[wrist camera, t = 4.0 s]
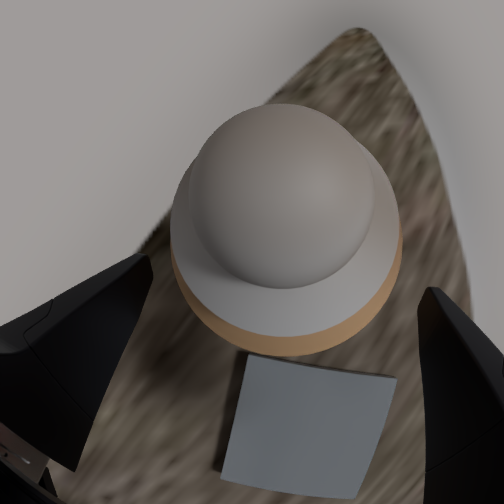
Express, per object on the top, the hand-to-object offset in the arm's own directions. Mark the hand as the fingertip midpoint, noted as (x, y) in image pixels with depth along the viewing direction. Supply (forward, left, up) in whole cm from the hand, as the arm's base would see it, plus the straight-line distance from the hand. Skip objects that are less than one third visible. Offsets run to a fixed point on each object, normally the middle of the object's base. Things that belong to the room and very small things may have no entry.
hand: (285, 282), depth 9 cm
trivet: (-8, -3, -9) cm, 13 cm away
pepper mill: (+1, 0, -9) cm, 9 cm away
